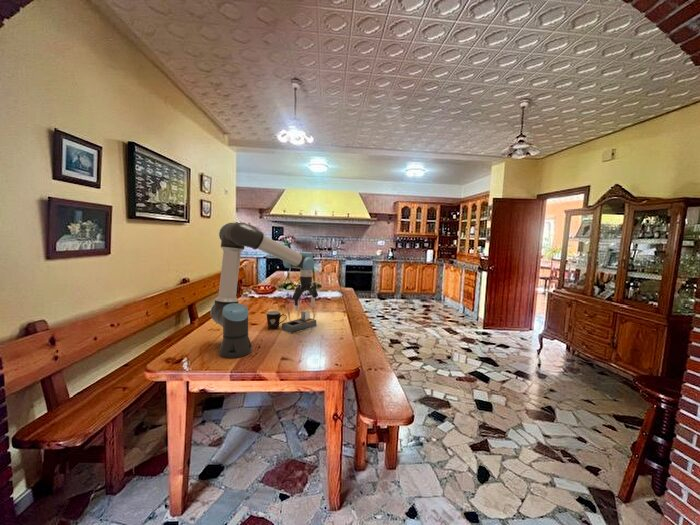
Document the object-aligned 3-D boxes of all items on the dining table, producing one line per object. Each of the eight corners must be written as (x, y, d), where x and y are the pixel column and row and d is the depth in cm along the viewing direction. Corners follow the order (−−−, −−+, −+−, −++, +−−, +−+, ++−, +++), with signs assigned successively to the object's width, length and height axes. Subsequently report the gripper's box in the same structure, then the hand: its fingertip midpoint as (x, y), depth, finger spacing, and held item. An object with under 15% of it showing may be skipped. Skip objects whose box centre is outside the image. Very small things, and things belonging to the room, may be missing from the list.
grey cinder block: (292, 333, 175) (292, 326, 174) (281, 329, 181) (281, 322, 181) (316, 326, 190) (316, 319, 190) (305, 322, 197) (305, 316, 196)
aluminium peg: (305, 327, 187) (305, 312, 186) (300, 326, 189) (301, 311, 188) (309, 326, 190) (309, 311, 189) (305, 324, 192) (305, 309, 191)
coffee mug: (263, 329, 181) (263, 313, 180) (271, 325, 189) (271, 310, 188) (280, 331, 178) (280, 315, 177) (287, 327, 186) (287, 312, 185)
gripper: (294, 278, 174) (294, 313, 176) (323, 275, 194) (322, 306, 196) (286, 276, 179) (286, 310, 181) (315, 274, 199) (314, 304, 200)
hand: (305, 308), depth 188 cm, fingers open, 13 cm apart
